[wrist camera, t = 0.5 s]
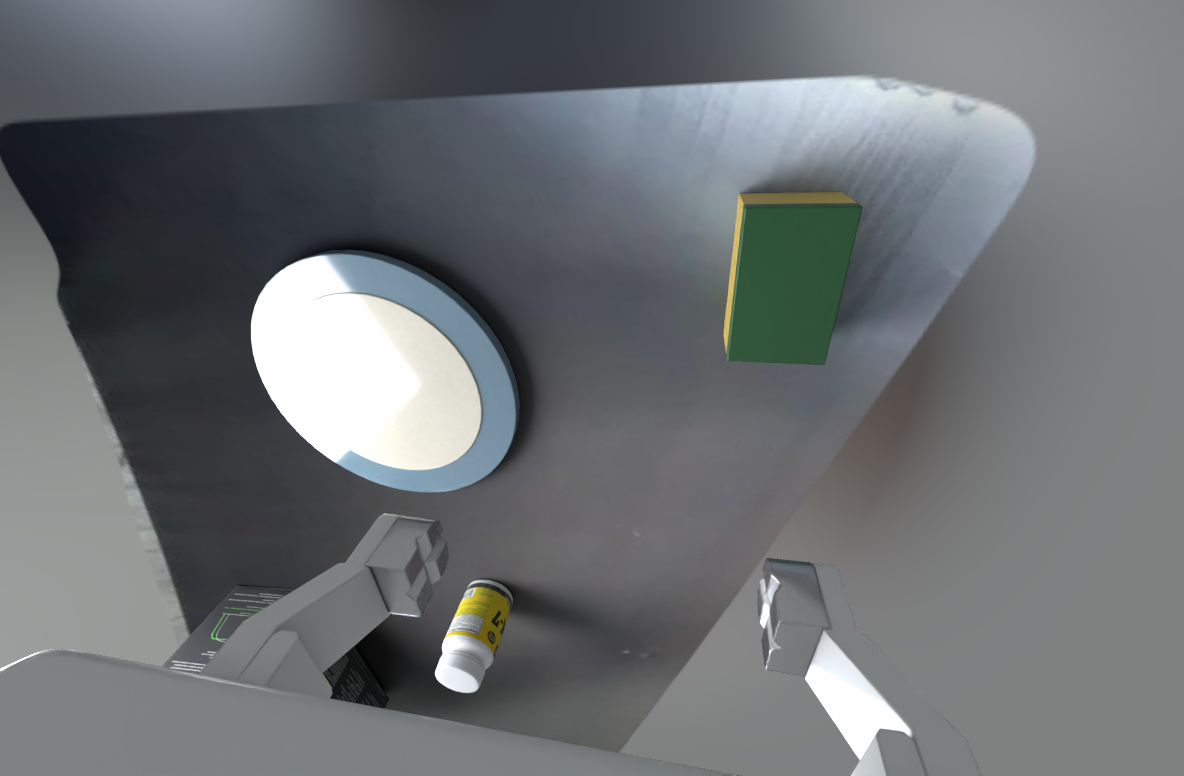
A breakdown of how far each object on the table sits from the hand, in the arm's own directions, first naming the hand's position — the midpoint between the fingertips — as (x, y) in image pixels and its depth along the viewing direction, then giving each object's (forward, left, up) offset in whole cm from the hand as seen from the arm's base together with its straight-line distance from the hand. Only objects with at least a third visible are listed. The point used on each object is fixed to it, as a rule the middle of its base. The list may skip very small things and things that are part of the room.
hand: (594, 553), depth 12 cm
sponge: (-1, +7, -19) cm, 21 cm away
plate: (+8, -19, -19) cm, 28 cm away
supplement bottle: (+32, -15, -20) cm, 40 cm away
